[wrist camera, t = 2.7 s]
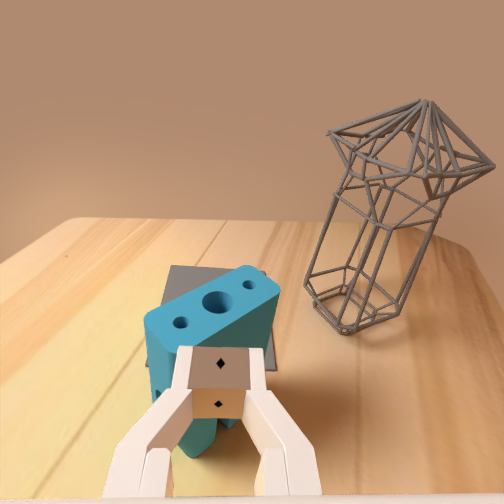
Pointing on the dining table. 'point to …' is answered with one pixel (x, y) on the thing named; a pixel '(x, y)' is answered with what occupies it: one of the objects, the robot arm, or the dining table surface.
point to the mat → (194, 277)
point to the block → (209, 334)
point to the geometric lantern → (406, 115)
